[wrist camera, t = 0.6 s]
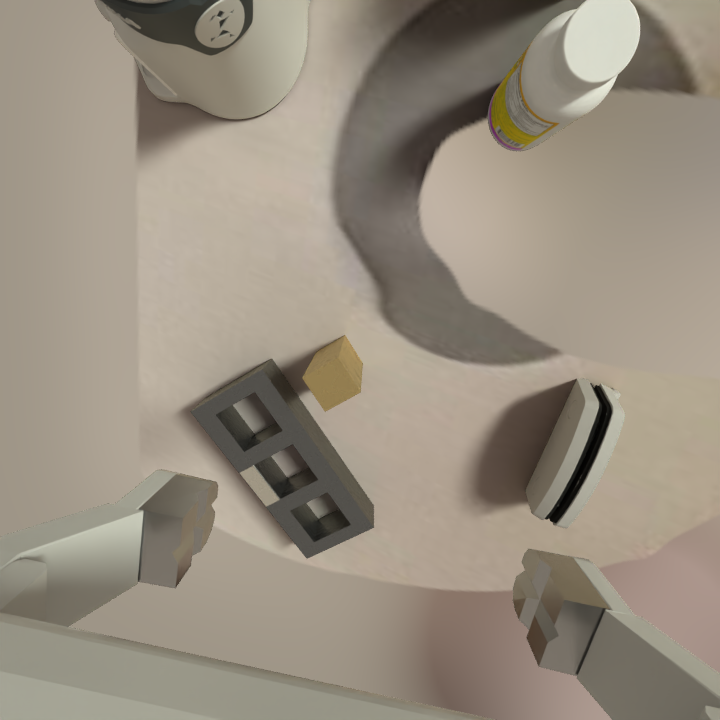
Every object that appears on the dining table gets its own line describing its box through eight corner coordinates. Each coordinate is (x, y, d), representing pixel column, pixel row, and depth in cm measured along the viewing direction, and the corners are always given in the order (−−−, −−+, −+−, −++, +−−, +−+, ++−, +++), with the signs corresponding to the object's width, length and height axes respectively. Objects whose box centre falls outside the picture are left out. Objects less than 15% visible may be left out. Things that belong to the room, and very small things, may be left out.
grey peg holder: (206, 397, 44) (189, 411, 40) (271, 358, 42) (261, 369, 38) (311, 535, 50) (306, 559, 46) (373, 505, 48) (373, 528, 44)
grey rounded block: (560, 501, 47) (575, 553, 38) (523, 485, 48) (529, 532, 39) (617, 386, 42) (651, 414, 33) (574, 373, 43) (595, 396, 34)
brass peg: (316, 351, 42) (302, 377, 33) (345, 335, 41) (338, 357, 33) (334, 379, 43) (325, 411, 34) (362, 363, 42) (360, 392, 34)
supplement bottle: (554, 65, 33) (662, -44, 21) (556, 144, 35) (657, 87, 23) (481, 82, 34) (545, -14, 21) (487, 159, 36) (549, 111, 23)
